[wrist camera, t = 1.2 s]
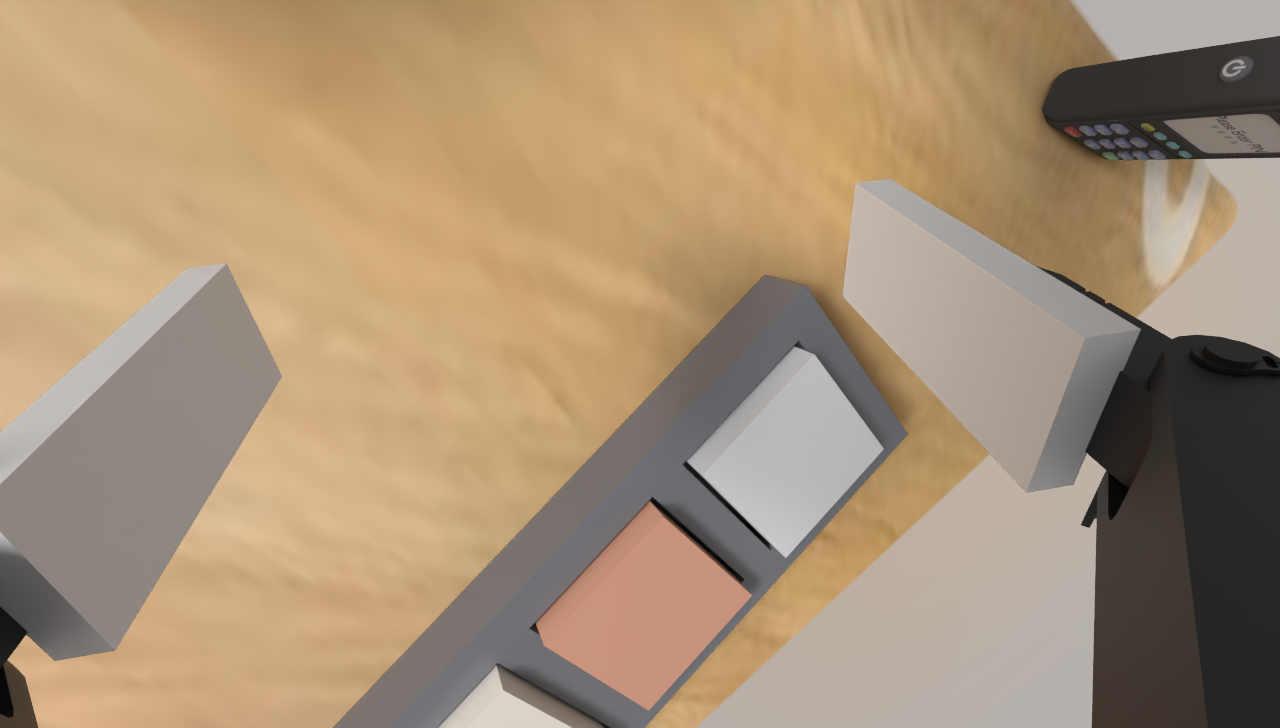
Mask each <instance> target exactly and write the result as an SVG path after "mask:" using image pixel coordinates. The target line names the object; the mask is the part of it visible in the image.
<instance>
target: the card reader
mask: <svg viewBox="0 0 1280 728" xmlns="http://www.w3.org/2000/svg"><path fill="white" fill-rule="evenodd" d="M1043 111H1044V113H1045V115H1046V119H1047V122H1048V123H1050V124H1051V125H1053V126H1054V127H1056V128H1057V129H1059V130H1060V131H1062V132H1064V133H1065V134H1067V135H1068V136H1070V137H1071V138H1073V139H1074V140H1076V141H1078V142H1079V143H1081V144H1082V145H1084V146H1085V147H1087V148H1088V149H1090V150H1092V151H1093V152H1095V153H1096V154H1098V155H1099V156H1101V157H1102V158H1104V159H1109V160H1111V161H1117V160H1127V161H1128V160H1148V159H1156V160H1164V159H1222V158H1280V36H1277V37H1271V38H1264V39H1257V40H1251V41H1244V42H1237V43H1231V44H1225V45H1218V46H1211V47H1205V48H1198V49H1192V50H1185V51H1179V52H1172V53H1165V54H1159V55H1152V56H1146V57H1140V58H1133V59H1127V60H1121V61H1115V62H1109V63H1103V64H1097V65H1091V66H1084V67H1078V68H1073V69H1070V70H1067V71H1065V72H1063V73H1061V74H1060V75H1059V76H1058V77H1057V78H1056V79H1055V80H1054V82H1053V84H1052V87H1051V89H1050V92H1049V94H1048V97H1047V99H1046V102H1045V104H1044V108H1043Z"/></svg>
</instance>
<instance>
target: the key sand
mask: <svg viewBox="0 0 1280 728" xmlns="http://www.w3.org/2000/svg"><path fill="white" fill-rule="evenodd" d="M437 728H604V727H603V725H602V723H601V722H600V721H599V720H597V719H595V718H593V717H592V716H590V715H588V714H586V713H585V712H583V711H581V710H579V709H578V708H576V707H574V706H572V705H571V704H569V703H567V702H565V701H564V700H562V699H560V698H558V697H557V696H555V695H553V694H551V693H550V692H548V691H546V690H544V689H543V688H541V687H539V686H537V685H536V684H534V683H532V682H530V681H529V680H527V679H525V678H523V677H522V676H520V675H518V674H516V673H515V672H513V671H511V670H509V669H508V668H506V667H504V666H502V665H501V664H499V663H497V664H496V665H495V666H494V667H493V668H492V669H491V670H490V671H489V672H488V673H487V674H486V675H485V676H484V678H483V679H482V680H481V681H480V682H479V683H478V684H477V685H476V686H475V687H474V688H473V689H472V690H471V691H470V693H469V694H468V695H467V696H466V697H465V698H464V699H463V700H462V701H461V702H460V703H459V704H458V705H457V706H456V708H455V709H454V710H453V711H452V712H451V713H450V714H449V715H448V716H447V717H446V718H445V719H444V720H443V721H442V722H441V724H440V725H439V726H438V727H437Z"/></svg>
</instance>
